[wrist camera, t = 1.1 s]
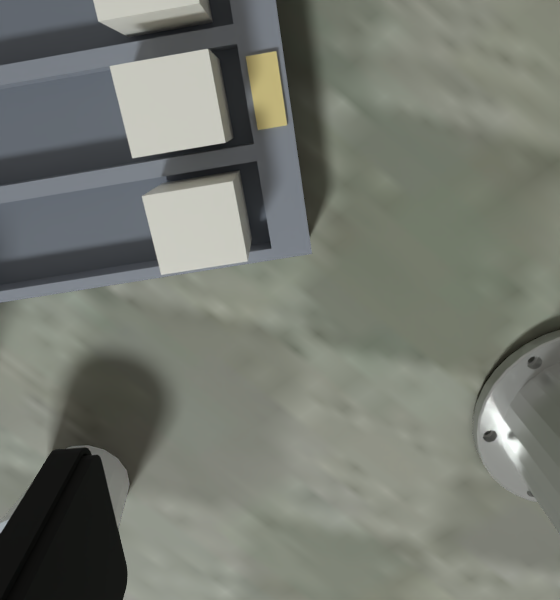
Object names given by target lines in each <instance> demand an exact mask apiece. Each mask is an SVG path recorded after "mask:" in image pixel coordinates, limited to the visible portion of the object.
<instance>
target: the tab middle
mask: <svg viewBox="0 0 560 600" xmlns="http://www.w3.org/2000/svg"><path fill="white" fill-rule="evenodd" d="M110 70H111V74H112V79H113V83H114V87H115V91H116V95H117V99H118V103H119V107H120V111H121V115H122V119H123V123H124V127H125V131H126V135H127V139H128V143H129V147H130V151H131V155H132V158H137V157H143V156H149V155H155V154H161V153H167V152H173V151H179V150H185V149H191V148H197V147H203V146H209V145H215V144H221V143H226V142H228V141H229V140H231V139H233V138H234V136H233V131H232V125H231V120H230V114H229V109H228V103H227V98H226V92H225V87H224V81H223V76H222V70H221V65H220V60H219V59H218V58H217V57H216V56H215V55H214V54H213V53H212V52H211V51H210V50H209V49H203V50H198V51H192V52H186V53H181V54H175V55H169V56H164V57H158V58H152V59H147V60H141V61H135V62H130V63H124V64H118V65H113V66H110Z"/></svg>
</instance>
